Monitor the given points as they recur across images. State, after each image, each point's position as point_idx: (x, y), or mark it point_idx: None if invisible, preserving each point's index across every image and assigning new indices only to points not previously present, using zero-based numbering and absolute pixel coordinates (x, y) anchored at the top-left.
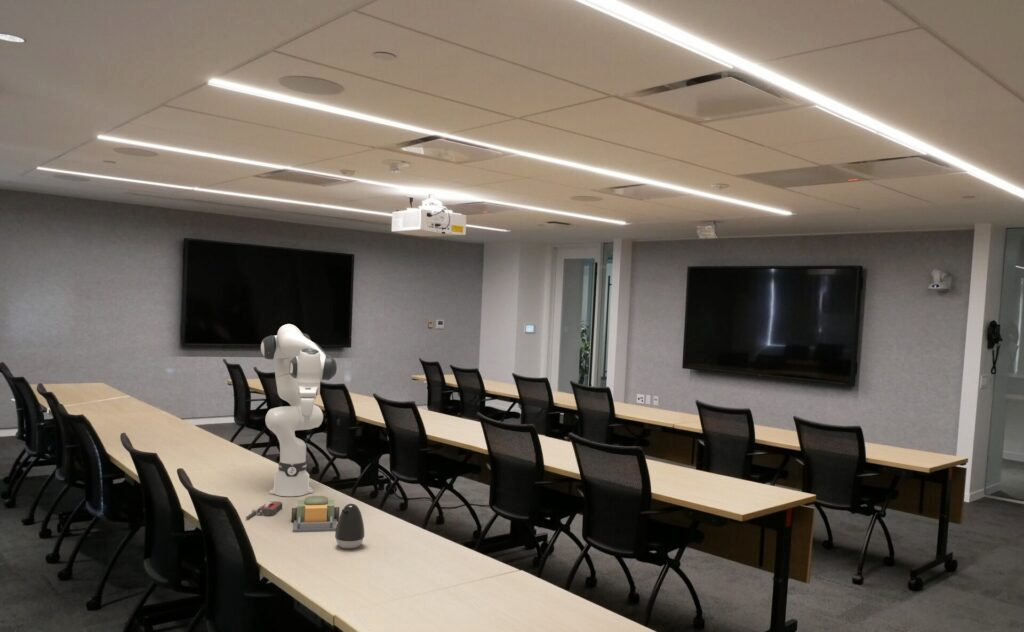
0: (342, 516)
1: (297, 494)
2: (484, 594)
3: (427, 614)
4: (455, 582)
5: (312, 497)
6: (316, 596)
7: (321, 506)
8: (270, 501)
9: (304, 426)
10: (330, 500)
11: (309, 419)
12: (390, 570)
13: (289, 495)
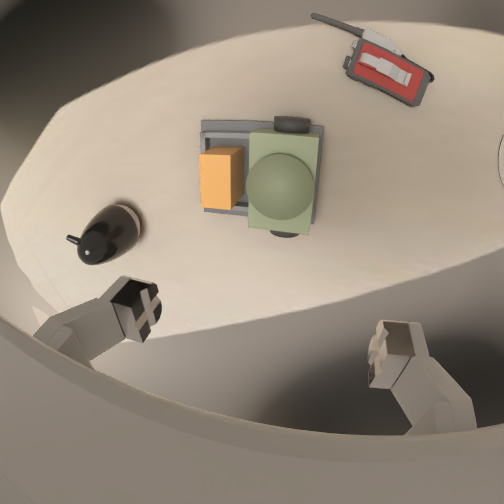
0: (83, 231)
1: (501, 168)
2: (52, 305)
3: (19, 257)
4: (62, 296)
5: (297, 179)
6: (17, 177)
7: (216, 195)
8: (407, 73)
9: (121, 278)
10: (301, 224)
11: (383, 380)
12: (69, 253)
13: (501, 148)
